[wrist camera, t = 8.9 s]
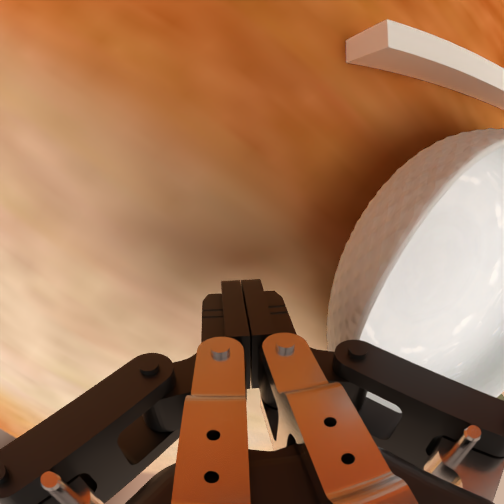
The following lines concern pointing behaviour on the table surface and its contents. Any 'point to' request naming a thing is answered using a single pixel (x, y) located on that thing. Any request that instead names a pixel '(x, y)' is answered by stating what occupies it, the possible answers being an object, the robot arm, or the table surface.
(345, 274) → the cereal bowl
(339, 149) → the table surface
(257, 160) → the table surface
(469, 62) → the green and white frame
